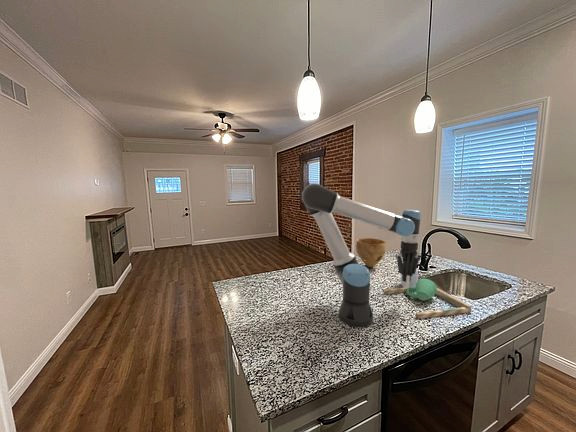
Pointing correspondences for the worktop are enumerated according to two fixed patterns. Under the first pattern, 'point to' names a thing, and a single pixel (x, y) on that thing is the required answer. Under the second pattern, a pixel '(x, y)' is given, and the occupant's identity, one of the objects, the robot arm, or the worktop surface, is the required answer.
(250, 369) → the worktop surface
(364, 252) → the bowl
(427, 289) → the mug
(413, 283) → the soap bottle
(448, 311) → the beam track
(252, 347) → the worktop surface
